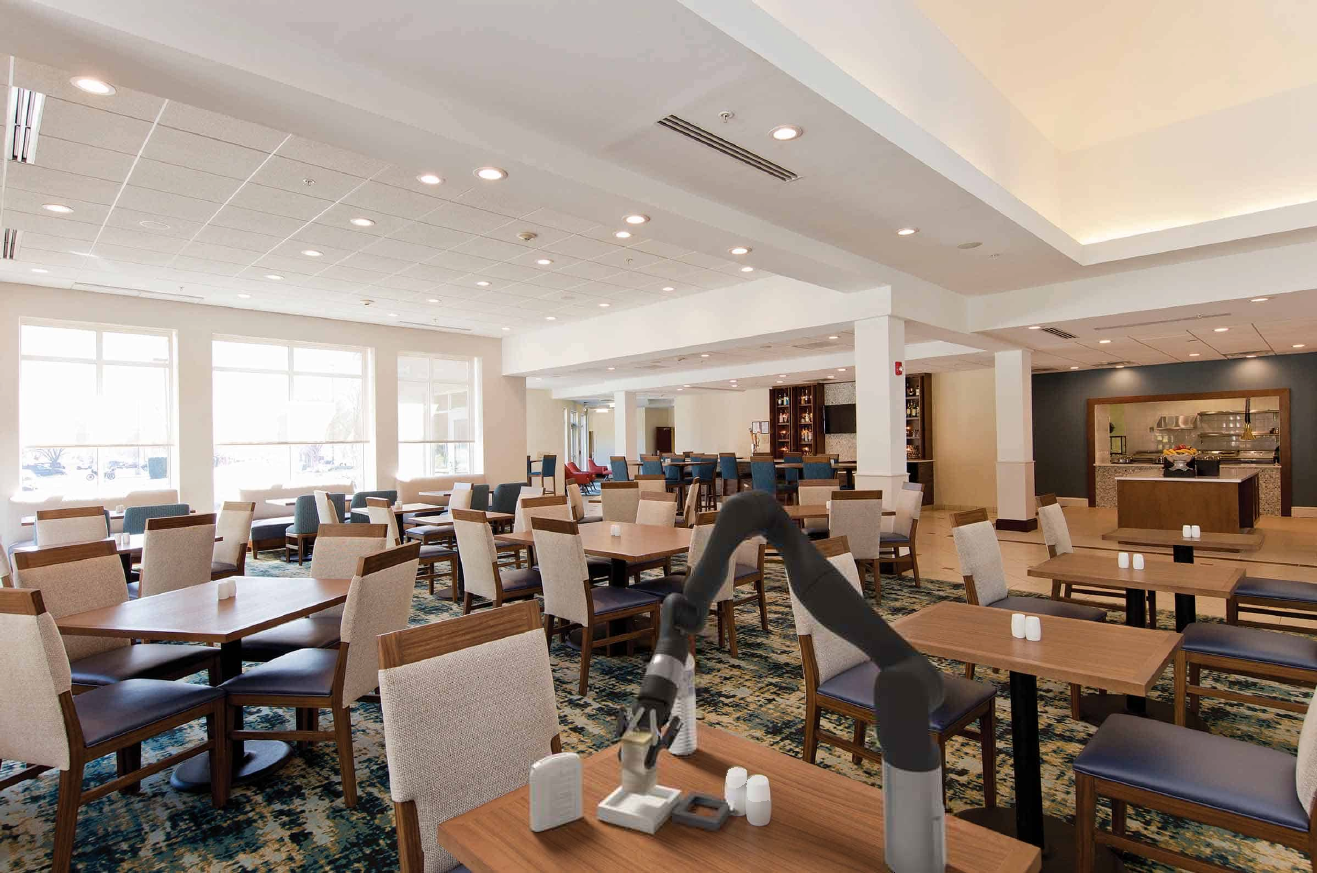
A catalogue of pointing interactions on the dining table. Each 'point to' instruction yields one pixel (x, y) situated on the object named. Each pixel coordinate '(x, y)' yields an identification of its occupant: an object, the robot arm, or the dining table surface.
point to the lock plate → (712, 824)
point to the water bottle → (686, 712)
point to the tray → (640, 808)
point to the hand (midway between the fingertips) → (634, 764)
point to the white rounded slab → (555, 791)
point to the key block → (637, 763)
